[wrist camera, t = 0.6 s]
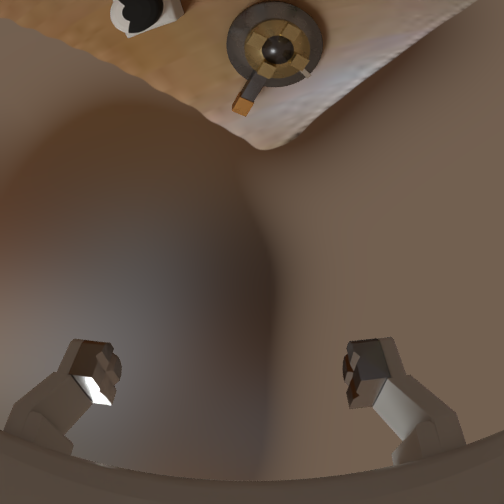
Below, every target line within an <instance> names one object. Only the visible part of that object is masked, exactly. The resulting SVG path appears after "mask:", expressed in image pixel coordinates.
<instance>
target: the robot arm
mask: <svg viewBox="0 0 504 504" xmlns="http://www.w3.org/2000/svg"><path fill="white" fill-rule="evenodd" d="M113 350H114V348H113V346H112V345H111V343H106V342H98V341H89V340H81V339H73V340H72V341H71V342H70V344H69V347H68V349H67V351H66V353H65V355H64V357H63V360H62V362H61V364H60V366H59V368H58V371H57V372H53V373H52V374H51V375H49V376H48V377H47V378H46V379H44V380H43V381H42V382H41V383H39V384H38V385H37V386H36V387H34V388H33V389H32V390H31V391H29V392H28V393H27V394H26V395H25V396H23V397H22V398H21V399H20V400H18V401H17V402H16V403H15V404H14V405H13V408H12V410H11V413H10V415H9V417H8V420H7V422H6V425H5V428H4V430H3V431H2V430H0V504H504V430H503V431H500V432H498V433H495V434H493V435H491V436H488V437H486V438H483V439H480V440H478V441H475V442H473V443H470V444H467V445H466V442H465V439H464V436H463V432H462V429H461V426H460V423H459V420H458V417H457V415H456V412H455V411H453V410H452V409H451V408H450V407H449V406H447V405H446V404H445V403H444V402H443V401H441V400H440V399H439V398H438V397H436V396H435V395H434V394H433V393H432V392H430V391H429V390H428V389H427V388H426V387H424V386H423V385H422V384H421V383H420V382H418V381H417V380H416V379H415V378H413V377H412V376H411V375H406V373H405V370H404V367H403V364H402V361H401V358H400V355H399V353H398V350H397V347H396V344H395V342H394V339H393V338H392V337H387V338H378V339H376V338H375V339H366V340H357V341H349V343H348V345H347V352H348V354H347V355H345V356H344V360H343V378H344V382H345V383H346V384H347V385H348V386H349V387H348V389H347V392H346V394H347V399H348V403H349V409H353V408H363V407H372V406H373V409H374V410H375V411H376V412H377V413H378V414H379V415H380V416H381V418H382V419H383V420H384V421H385V422H386V423H387V424H388V425H389V426H390V428H391V429H392V430H393V431H394V432H395V433H396V434H397V435H398V436H399V437H400V439H401V440H402V441H403V442H402V443H401V444H400V445H399V446H398V447H397V448H396V450H395V451H394V452H393V453H392V459H393V464H394V466H390V467H385V468H380V469H375V470H370V471H364V472H358V473H351V474H345V475H338V476H329V477H320V478H309V479H298V480H297V479H296V480H280V481H279V480H278V481H226V480H208V479H195V478H184V477H175V476H167V475H159V474H153V473H147V472H141V471H134V470H130V469H124V468H119V467H115V466H110V465H106V464H101V463H97V462H93V461H89V460H86V459H82V458H78V457H75V456H71V453H72V449H73V443H72V442H71V441H70V440H69V439H68V438H67V437H65V436H64V435H65V434H66V432H67V431H68V430H69V429H70V428H71V427H72V426H73V425H74V424H75V423H76V422H77V421H78V419H79V418H80V417H81V416H82V415H83V414H84V413H85V412H86V411H87V410H88V408H89V407H90V406H91V405H92V404H93V403H99V404H106V405H112V403H113V400H114V397H115V394H116V388H115V386H114V385H115V384H116V383H117V382H118V381H120V377H121V370H122V369H121V368H122V366H121V362H120V359H119V357H118V356H117V355H115V354H114V353H113Z"/></svg>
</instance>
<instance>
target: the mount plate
mask: <svg viewBox="0 0 504 504" xmlns="http://www.w3.org/2000/svg"><path fill="white" fill-rule="evenodd" d="M271 18H280V19H285V20H288V21H290V22H292V23H294V24H295V25H296V26H298V27H299V28H300V29H301V30H302V31H303V32H304V33H305V35H306V36H307V38H308V40H309V44H310V55H309V60H310V61H309V62H308V64H307V65H306V67H305V68H304V70H303V71H299V72H297V73H296V74H294V75H292V76H289V77H285V78H270V79H267V81H266V82H265V84H264V85H263V86H266V87H283V86H288V85H291V84H294V83H296V82H299V81H300V80H302V79H304V78H305V77H306V78H309V77H310V76H311V74H310V73H311V72H312V71H313V70H314V69H315V67H316V66H317V64H318V62H319V60H320V58H321V54H322V49H323V41H322V35H321V32H320V30H319V28H318V26H317V24H316V23H315V21H314V20H313V19H312V18H311V17H310V16H309V15H308V14H307V13H306V12H304V11H303V10H301V9H300V8H298V7H296V6H293V5H291V4H288V3H285V2H279V1H267V2H261V3H258V4H255V5H252V6H250V7H248V8H247V9H245V10H244V11H242V12H241V13H240V14H239V15H238V16H237V17H236V18H235V20H234V21H233V22H232V24H231V26H230V28H229V32H228V36H227V53H228V57H229V59H230V61H231V64H232V65H233V67H234V68H235V69H236V71H237V72H238V73H239V74H240V75H242V76H243V77H244V78H246V79H247V80H248V79H249V77H250V76H251V74H252V72H253V71H254V69H253V68H252V67H251V66H250V65H249V63H248V61H247V59H246V56H245V50H244V42H245V38H246V35H247V33H248V32H249V30H250V29H251V28H252V27H253V26H254V25H256V24H257V23H259V22H261V21H263V20H266V19H271Z"/></svg>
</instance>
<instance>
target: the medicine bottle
mask: <svg viewBox="0 0 504 504" xmlns="http://www.w3.org/2000/svg"><path fill="white" fill-rule="evenodd" d="M183 15H184V11H183V8H182V5H181V2H180V0H113V4H112V6H111V11H110V16H111V20H112V22H113V24H114V25H115V27H116V28H117V29H119V30H120V31H122V32H125V33H126V36H127V37H128V38H130V37H133V36H135V35H138V34H140V33H143V32H146V31H148V30H151V29H154V28H157V27H159V26H162V25H165V24H168V23H171V22H174V21H176V20H177V19H179V18H180V17H181V16H183Z"/></svg>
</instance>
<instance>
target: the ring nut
mask: <svg viewBox="0 0 504 504" xmlns="http://www.w3.org/2000/svg"><path fill="white" fill-rule="evenodd" d="M244 50H245V56H246V59H247V61H248V63H249V65H250V66H251V67H252V68H253V69H254V71H253V72H252V74H251V76H250V77H249V79H248V81H247V82H246V84H245V86H244V87H243V89H242V91H241V92H239V94H238V95H237V97H236V99H235V101H234V103H233V104H232V111H233V112H236V113H238V114H241V115H243V116H245V117H246V116H247V114H248V112H249V111H250V109H251V107H252V106H253V104H254V100H255V98H256V97H257V95H258V93H259V92H260V90H261V89H262V87H263V85H264V84H265V82H266V81H267V79H270V78H285V77H289V76H292V75H294V74H296V73H297V72H299V71H303V70H304V68H305V67H306V65H307V64H308V62H309V61H310V60H309V55H310V44H309V40H308V38H307V36H306V35H305V33H304V32H303V31H302V30H301V29H300V28H299V27H298V26H296V25H295V24H294V23H292V22H290V21H288V20H285V19H280V18H271V19H266V20H263V21H261V22H259V23H257V24H256V25H254V26H253V27H252V28H251V29H250V30H249V32H248V33H247V35H246V38H245V42H244Z"/></svg>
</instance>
